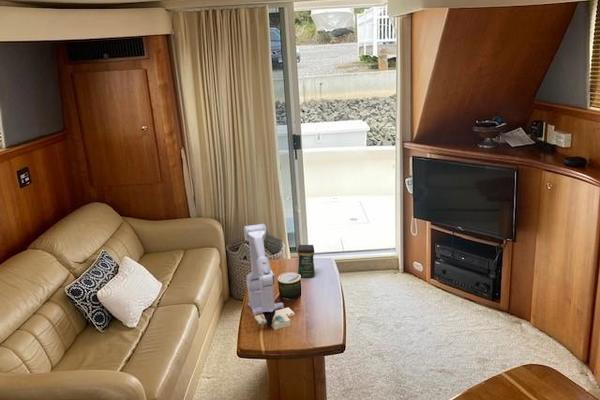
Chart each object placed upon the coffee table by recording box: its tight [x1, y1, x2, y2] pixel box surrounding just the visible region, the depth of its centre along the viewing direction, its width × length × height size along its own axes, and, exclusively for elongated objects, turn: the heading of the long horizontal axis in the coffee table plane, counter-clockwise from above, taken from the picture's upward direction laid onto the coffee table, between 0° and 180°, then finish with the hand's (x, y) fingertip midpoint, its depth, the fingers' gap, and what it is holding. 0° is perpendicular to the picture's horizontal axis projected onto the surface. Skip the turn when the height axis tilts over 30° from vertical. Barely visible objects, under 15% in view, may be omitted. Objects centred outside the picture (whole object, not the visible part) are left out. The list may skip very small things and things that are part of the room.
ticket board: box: [254, 307, 296, 325], centre depth 236 cm, size 7×18×1 cm, turn 116°
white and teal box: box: [270, 315, 292, 331], centre depth 228 cm, size 6×8×4 cm
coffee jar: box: [297, 244, 316, 279], centre depth 279 cm, size 10×8×19 cm
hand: (269, 324), depth 227 cm, fingers closed
